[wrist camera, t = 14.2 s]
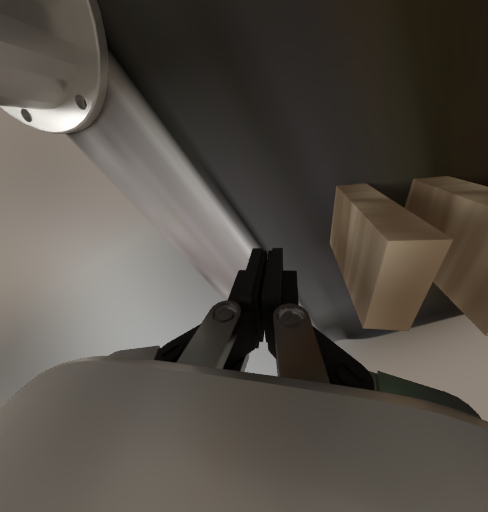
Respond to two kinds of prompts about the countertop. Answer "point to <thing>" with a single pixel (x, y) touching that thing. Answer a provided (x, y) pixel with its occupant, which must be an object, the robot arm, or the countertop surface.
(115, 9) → the countertop surface
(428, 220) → the domino
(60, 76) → the robot arm
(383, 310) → the domino
